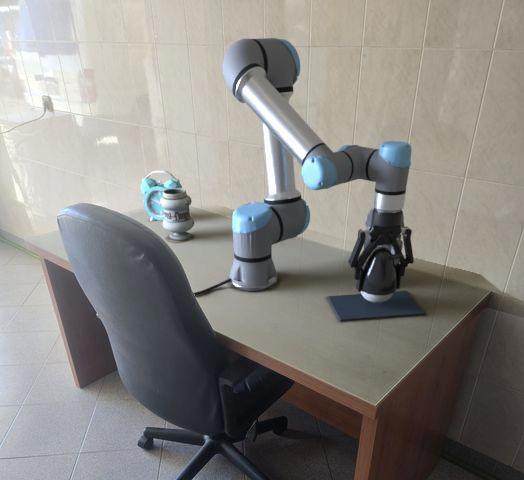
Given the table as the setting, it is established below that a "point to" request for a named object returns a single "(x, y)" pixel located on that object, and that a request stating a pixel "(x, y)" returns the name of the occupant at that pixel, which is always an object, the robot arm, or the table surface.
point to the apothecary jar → (177, 214)
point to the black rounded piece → (379, 275)
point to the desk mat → (374, 307)
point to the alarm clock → (156, 194)
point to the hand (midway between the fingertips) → (377, 288)
